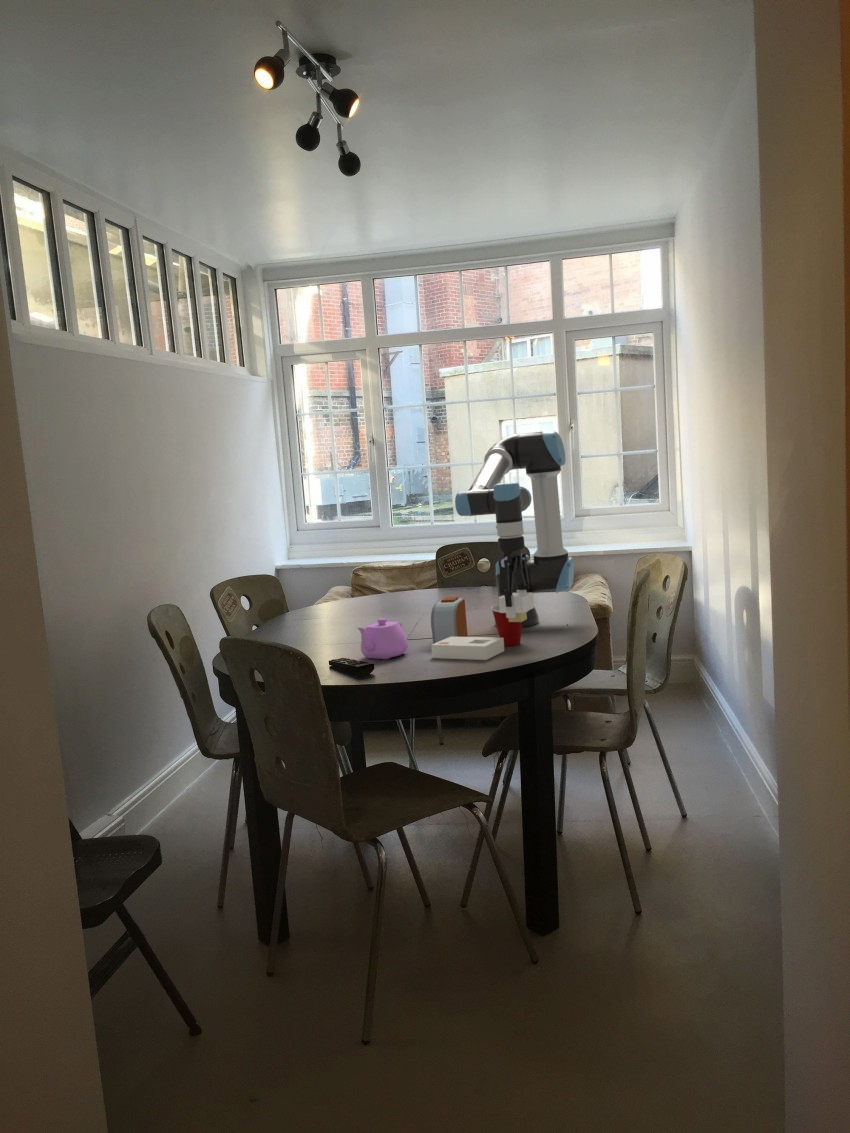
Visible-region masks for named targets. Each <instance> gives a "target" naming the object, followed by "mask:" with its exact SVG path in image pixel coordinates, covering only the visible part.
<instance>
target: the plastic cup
mask: <svg viewBox="0 0 850 1133" xmlns="http://www.w3.org/2000/svg"><path fill="white" fill-rule="evenodd" d="M490 610H491V611H492V615H493V618H494V623H495V622H496V626H495V627H496V629H497V634H498V638H503V639H504V647H512V646H518V645H520V644H521V641H522V639H521V638H522V632H523V630H522V629H523V627H522V622H509V620H508V618H506V613H500V611H499V605H498V604H496V605H495V604H494V605H492V606H491V607H490Z"/></svg>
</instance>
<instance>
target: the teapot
mask: <svg viewBox="0 0 850 1133" xmlns="http://www.w3.org/2000/svg"><path fill="white" fill-rule="evenodd" d="M387 620H388V618H385V617H384V618H382V617H381V618H378V619H377V622H375V623H371V624H369V625H368V624H367V625H366V626H365V628H364V627H357V629H358V631H359V632H360V635H361V642H360V652H361V653H362V655H363V657H365V658H368V659H370V658H372V659H373V658H374V659H382V660H386V661H387V660H390V659H391V658H394V657H398V656H402V655H403V654H405V653H406V651H407V650H408V647H409V642H408V637H407V635H406V633H405V631H404V629H403V626H402V625H403V624H402V623H401V622H399V621H387Z"/></svg>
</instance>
